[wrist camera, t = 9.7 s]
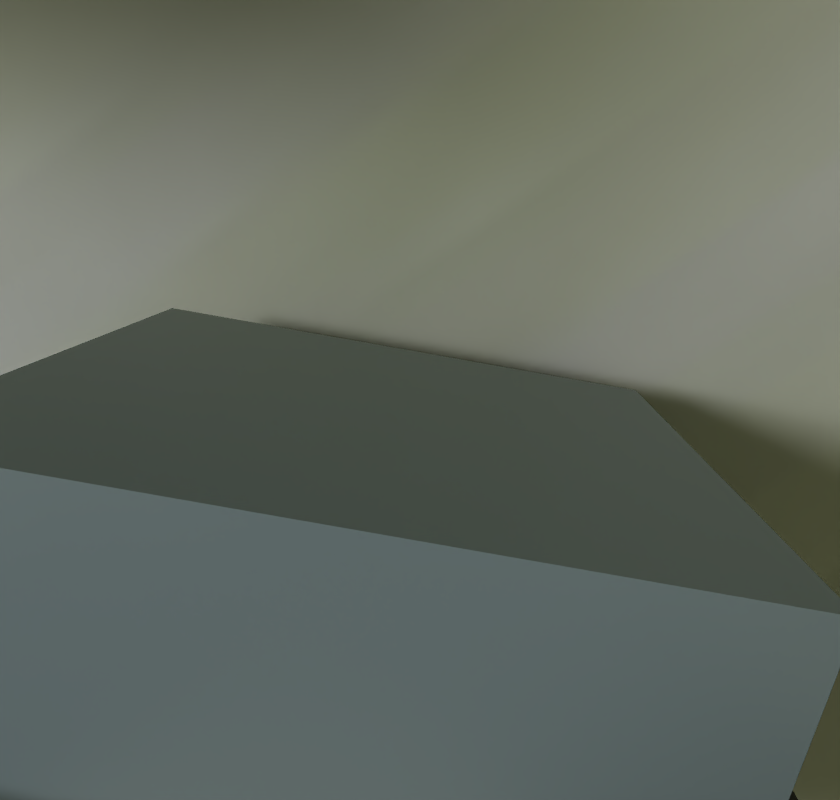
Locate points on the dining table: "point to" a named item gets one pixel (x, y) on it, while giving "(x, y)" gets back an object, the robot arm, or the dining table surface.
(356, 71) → the dining table surface
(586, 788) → the slate square block
